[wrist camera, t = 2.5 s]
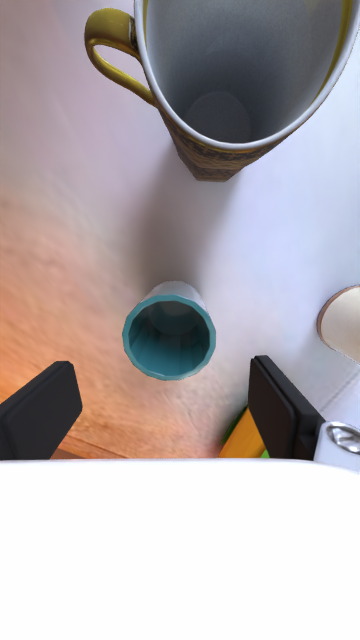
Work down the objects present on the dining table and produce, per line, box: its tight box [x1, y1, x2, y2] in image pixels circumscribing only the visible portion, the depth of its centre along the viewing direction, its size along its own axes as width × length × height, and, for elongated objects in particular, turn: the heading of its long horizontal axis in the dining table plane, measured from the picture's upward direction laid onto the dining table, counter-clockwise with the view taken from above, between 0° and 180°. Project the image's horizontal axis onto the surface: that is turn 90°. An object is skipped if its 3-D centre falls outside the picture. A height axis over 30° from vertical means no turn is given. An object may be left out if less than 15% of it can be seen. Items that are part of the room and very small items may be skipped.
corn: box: [218, 404, 270, 458], centre depth 25 cm, size 7×8×20 cm
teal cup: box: [122, 280, 216, 381], centre depth 19 cm, size 7×7×9 cm
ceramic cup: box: [84, 0, 360, 182], centre depth 13 cm, size 13×10×10 cm
